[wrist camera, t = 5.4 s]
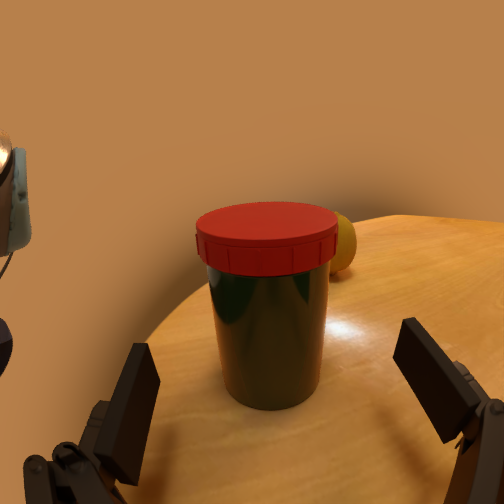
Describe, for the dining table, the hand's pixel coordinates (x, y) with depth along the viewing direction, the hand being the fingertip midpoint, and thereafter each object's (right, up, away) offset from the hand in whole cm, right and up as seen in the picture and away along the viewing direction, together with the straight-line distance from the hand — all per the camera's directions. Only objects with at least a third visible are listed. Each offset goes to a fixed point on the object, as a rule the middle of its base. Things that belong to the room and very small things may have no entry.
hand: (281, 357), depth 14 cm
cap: (-1, +7, +3) cm, 7 cm away
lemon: (+9, +2, +22) cm, 24 cm away
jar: (0, -4, +7) cm, 8 cm away
